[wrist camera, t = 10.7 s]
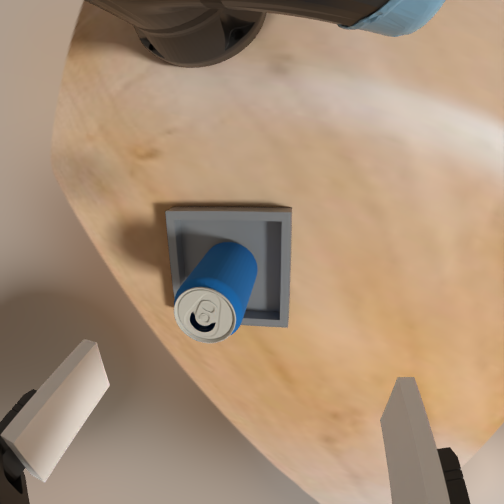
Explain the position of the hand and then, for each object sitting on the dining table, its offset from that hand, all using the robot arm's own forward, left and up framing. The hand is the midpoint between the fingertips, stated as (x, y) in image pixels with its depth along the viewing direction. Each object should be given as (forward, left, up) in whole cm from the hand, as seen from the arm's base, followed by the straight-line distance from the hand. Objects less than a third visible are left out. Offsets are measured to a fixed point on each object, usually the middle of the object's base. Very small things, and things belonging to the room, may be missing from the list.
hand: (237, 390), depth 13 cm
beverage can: (+5, -6, -26) cm, 27 cm away
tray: (+5, -6, -26) cm, 27 cm away
